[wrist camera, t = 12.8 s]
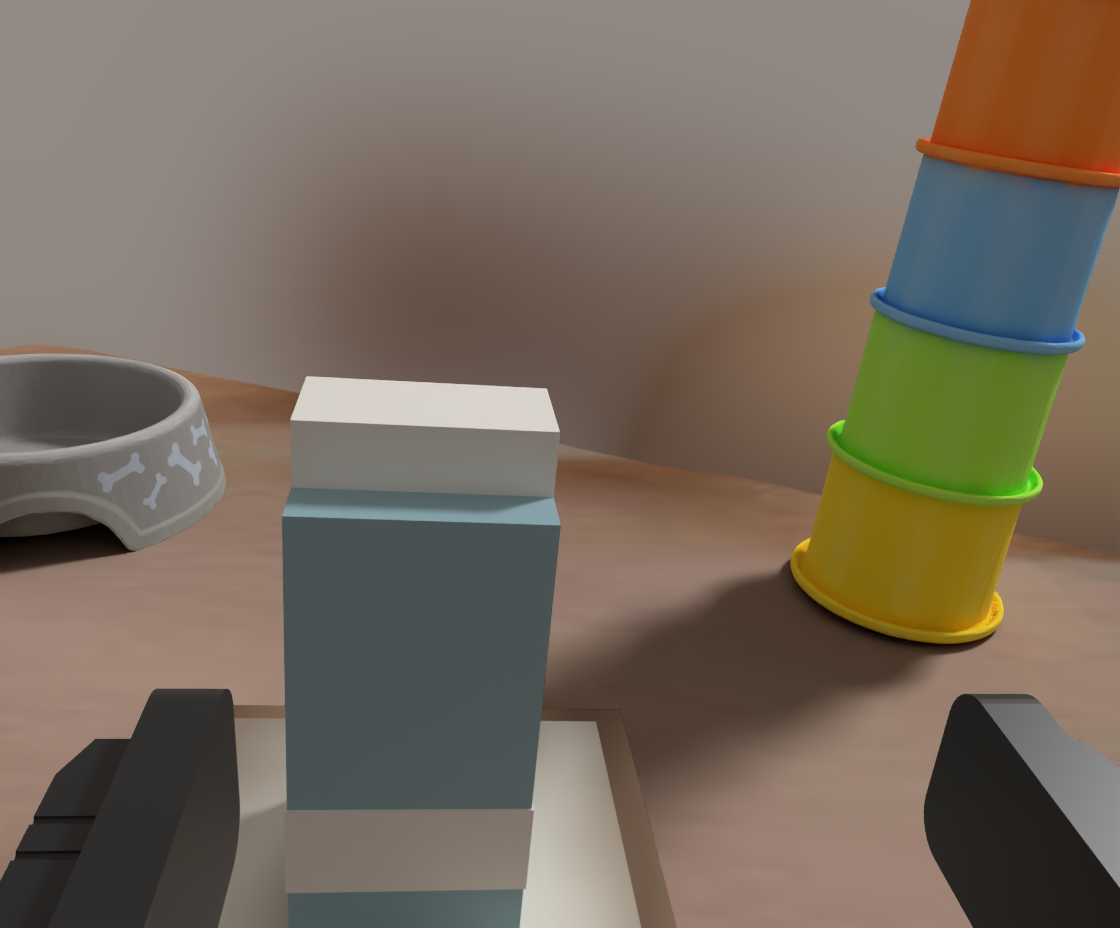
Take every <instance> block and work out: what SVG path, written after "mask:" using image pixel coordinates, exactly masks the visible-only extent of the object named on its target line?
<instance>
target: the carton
mask: <svg viewBox="0 0 1120 928" xmlns="http://www.w3.org/2000/svg"><path fill="white" fill-rule="evenodd" d="M290 431H291V490H290V493H289V496H288V499H287V502H286V506H285V509H284V512H283V515H282V539H283V603H284V666H285V729H286V793H287V800H286V805H285V810H284V831H285V890H286V893H288V920H289V928H520V918H521V908H522V898H523V889H526V883H527V873H528V864H529V854H530V844H531V834H532V825H533V815H534V806H533V791H534V781H535V771H536V761H537V751H538V742H539V732H540V722H541V712H542V702H543V693H544V683H545V673H546V663H547V653H548V644H549V634H550V624H551V614H552V604H553V595H554V585H555V575H556V565H557V555H558V546H559V536H560V526H561V525H560V521H559V517H558V513H557V509H556V505H555V501H554V488H555V478H556V467H557V457H558V447H559V436H560V431H559V428H558V424H557V421H556V418H555V415H554V411H553V408H552V405H551V401H550V398H549V395H548V391H547V389H542V388H524V387H523V388H522V387H504V386H503V387H502V386H483V385H465V384H445V383H426V382H405V381H387V380H386V381H385V380H367V379H366V380H365V379H347V378H328V377H309V376H308V377H306V380H305V382H304V385H303V387H302V390H301V393H300V395H299V398H298V401H297V404H296V406H295V409H294V412H293V414H292V417H291V420H290Z"/></svg>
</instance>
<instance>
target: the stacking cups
mask: <svg viewBox="0 0 1120 928" xmlns="http://www.w3.org/2000/svg"><path fill="white" fill-rule="evenodd" d="M916 149H917V150H918V151H919V152H921V153H924V155H923V158H922V161H921V165H920V169H919V172H918V176H917V179H916V183H915V186H914V190H913V193H912V197H911V200H910V204H909V207H908V211H907V214H906V218H905V222H904V225H903V229H902V232H901V236H900V239H899V243H898V246H897V250H896V254H895V258H894V260H893V264H892V268H891V271H890V275H889V278H888V282H887V285H886V287H884V288H879V289H876V290H875V291H873V292H872V294H871V295H870V303H871V305H872V307H873V308H874V309H875V310H876V311H875V314H874V317H873V320H872V324H871V328H870V331H869V336H868V339H867V343H866V346H865V350H864V354H863V357H862V361H861V365H860V369H859V372H858V376H857V380H856V383H855V387H854V391H853V394H852V398H851V401H850V405H849V409H848V412H847V416H846V419H845V420H842V421H839V422H837V423H835V424H834V425H832V426H831V427H830V428H829V430H828V432H827V435H826V436H827V443H828V445H829V447H830V449H831V451H832V452H833V455H832V458H831V462H830V466H829V470H828V473H827V477H826V481H825V484H824V488H823V492H822V496H821V500H820V504H819V507H818V511H817V515H816V519H815V523H814V527H813V531H812V534H811V538H809V539H807V540H805V541H803V542H801V543H800V544H799V545H798V546H797V547H796V548H795V549H794V551H793V553H792V556H791V560H790V562H791V571H792V573H793V576H794V579H795V580H796V581H797V583H798V584H799V586H800V587H801V588H802V589H803V590H804V591H805V592H806V593H807V594H808V595H809V596H810V597H811V598H812V599H814V600H815V601H816V602H818V603H819V604H820V605H822V606H823V607H825V608H826V609H828V610H830V611H831V612H833V613H835V614H837V615H839V616H841V617H843V618H845V619H846V620H849V621H851V622H853V623H855V624H858V625H860V626H862V627H865V628H868V629H871V630H874V631H877V632H879V633H882V634H886V635H890V636H893V637H897V638H902V639H907V640H912V641H920V642H928V643H939V644H953V643H964V642H970V641H974V640H978V639H981V638H983V637H986V636H988V635H990V634H991V633H993V632H994V631H995V630H996V629H997V628H998V627H999V625H1000V624H1001V621H1002V618H1003V616H1004V608H1003V604H1002V601H1001V598H1000V597H999V595H998V594H997V592H996V591H995V589H996V586H997V583H998V580H999V576H1000V573H1001V570H1002V566H1003V563H1004V560H1005V556H1006V553H1007V550H1008V547H1009V543H1010V540H1011V537H1012V534H1013V531H1014V527H1015V525H1016V521H1017V518H1018V515H1019V512H1020V509H1021V506H1022V504H1023V503H1026V502H1028V501H1030V500H1032V499H1034V498H1036V497H1037V496H1038V495H1039V493H1040V491H1041V489H1042V486H1043V482H1042V479H1041V477H1040V475H1039V474H1038V472H1037V471H1036V470H1035V469H1034V468H1033V467H1032V466H1033V462H1034V459H1035V456H1036V453H1037V450H1038V446H1039V443H1040V440H1041V437H1042V434H1043V431H1044V428H1045V424H1046V421H1047V418H1048V415H1049V412H1050V409H1051V406H1052V403H1053V400H1054V397H1055V394H1056V391H1057V388H1058V385H1059V382H1060V379H1061V376H1062V372H1063V369H1064V366H1065V362H1066V360H1067V356H1068V353H1073V352H1076V351H1078V350H1079V349H1081V348H1082V346H1083V344H1084V342H1085V337H1084V335H1083V334H1082V333H1081V332H1080V331H1078V330H1077V329H1075V325H1076V322H1077V319H1078V316H1079V313H1080V310H1081V307H1082V304H1083V300H1084V297H1085V294H1086V291H1087V288H1088V285H1089V282H1090V279H1091V276H1092V273H1093V270H1094V267H1095V264H1096V261H1097V258H1098V255H1099V252H1100V249H1101V245H1102V242H1103V239H1104V236H1105V233H1106V230H1107V227H1108V224H1109V221H1110V218H1111V215H1112V212H1113V209H1114V205H1115V203H1116V199H1117V195H1118V192H1119V188H1120V0H971V2H970V6H969V9H968V12H967V16H966V19H965V23H964V26H963V30H962V33H961V36H960V40H959V43H958V47H957V51H956V54H955V57H954V61H953V65H952V68H951V72H950V75H949V78H948V82H947V85H946V89H945V93H944V96H943V99H942V103H941V106H940V110H939V113H938V117H937V120H936V123H935V127H934V130H933V134H932V137H931V139H924V138H923V139H918V141H917V142H916Z"/></svg>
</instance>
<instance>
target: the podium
mask: <svg viewBox="0 0 1120 928" xmlns="http://www.w3.org/2000/svg"><path fill="white" fill-rule="evenodd" d="M233 708H234V722H235V737H236V752H237V766H238V781H239V796H240V824H239V836H238V845H237V851H236V857H235V862H234V867H233V871H232V875H231V878H230V882H229V886H228V890H227V894H226V898H225V902H224V906H223V910H222V914H221V917H220V921H219V925H218V928H289V920H288V893H286V890H285V831H284V810H285V805H286V800H287V793H286V729H285V706H260V705H233ZM533 806H534V815H533V825H532V834H531V844H530V854H529V864H528V873H527V883H526V889H523V898H522V908H521V918H520V928H677V927H676V923H675V920H674V916H673V912H672V908H671V904H670V900H669V896H668V893H667V889H666V885H665V881H664V877H663V873H662V869H661V866H660V862H659V858H658V854H657V850H656V846H655V842H654V838H653V835H652V831H651V827H650V823H649V819H648V815H647V811H646V808H645V804H644V800H643V796H642V792H641V788H640V784H639V781H638V777H637V773H636V769H635V765H634V761H633V757H632V754H631V750H630V746H629V742H628V738H627V734H626V730H625V727H624V723H623V719H622V715H621V711H620V709H542V712H541V722H540V732H539V742H538V751H537V761H536V771H535V781H534V791H533Z"/></svg>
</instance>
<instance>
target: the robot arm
mask: <svg viewBox="0 0 1120 928" xmlns="http://www.w3.org/2000/svg"><path fill="white" fill-rule="evenodd" d="M239 824H240V796H239V781H238V766H237V752H236V737H235V722H234V708H233V699H232V695H231V692H230V690H229V689H155V690H154V691H153V692H152V693H151V695H150V697H149V699H148V701H147V703H146V705H145V708H144V710H143V712H142V714H141V717H140V719H139V721H138V723H137V726H136V728H135V730H134V732H133V735H132V737H131V739H95V740H94V741H93V742H92V743H90V744H89V745H88V746H87V747H86V748H85V749H84V750H83V751H81V752H80V753H79V754H78V755H77V756H76V757H75V758H74V759H72V760H71V761H70V762H69V763H68V764H67V765H66V766H65V767H63V768H62V769H61V770H60V771H59V772H58V773H57V774H56V775H55V776H54V778H53V780H52V782H51V784H50V786H49V788H48V790H47V792H46V794H45V796H44V798H43V800H42V802H41V803H40V805H39V807H38V809H37V811H36V813H35V815H34V822H33V825H29V827H28V829H27V830H26V832H25V834H24V836H23V838H22V840H21V842H20V844H19V846H18V848H17V850H16V856H15V860H14V861H10V863H9V865H8V867H7V869H6V871H5V873H4V875H3V877H2V879H1V881H0V928H218V925H219V921H220V917H221V914H222V910H223V906H224V902H225V898H226V894H227V890H228V886H229V882H230V878H231V875H232V871H233V867H234V862H235V857H236V851H237V845H238V836H239ZM924 824H925V832H926V836H927V841H928V844H929V847H930V850H931V852H932V855H933V857H934V859H935V861H936V862H937V864H938V866H939V868H940V869H941V871H942V873H943V875H944V877H945V878H946V880H947V882H948V884H949V885H950V887H951V889H952V891H953V893H954V894H955V896H956V898H957V900H958V902H959V903H960V905H961V907H962V909H963V910H964V912H965V914H966V916H967V918H968V919H969V921H970V923H971V925H972V926H973V928H1120V768H1119V767H1118V766H1116V765H1115V764H1113V763H1112V762H1110V761H1109V760H1108V759H1106V758H1105V757H1103V756H1102V755H1101V754H1099V753H1098V752H1096V751H1095V750H1093V749H1092V748H1091V747H1089V746H1088V745H1086V744H1085V743H1084V742H1082V741H1081V740H1071V739H1070V737H1069V736H1068V735H1067V734H1066V733H1065V731H1064V730H1063V729H1062V728H1061V727H1060V725H1059V724H1058V723H1057V722H1056V721H1055V720H1054V718H1053V717H1052V716H1051V715H1050V714H1049V712H1048V711H1047V710H1046V709H1045V708H1044V706H1043V705H1042V704H1041V703H1040V702H1039V701H1038V700H1037V699H1036V698H1034V697H1033V696H1031V695H1028V694H963V695H960V696H959V697H958V698H957V699H956V700H955V701H954V703H953V705H952V707H951V710H950V713H949V716H948V720H947V723H946V727H945V730H944V734H943V737H942V741H941V744H940V748H939V751H938V755H937V759H936V762H935V766H934V769H933V773H932V776H931V780H930V783H929V787H928V790H927V794H926V798H925V804H924Z"/></svg>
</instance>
